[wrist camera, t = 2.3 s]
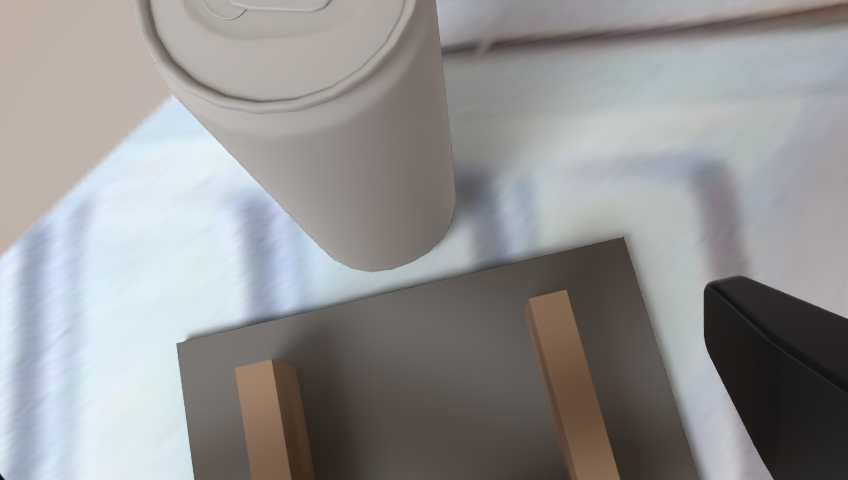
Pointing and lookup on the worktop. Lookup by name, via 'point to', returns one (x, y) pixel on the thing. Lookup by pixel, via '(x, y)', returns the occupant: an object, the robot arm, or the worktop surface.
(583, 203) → the worktop surface
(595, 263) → the keeper
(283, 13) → the beverage can
